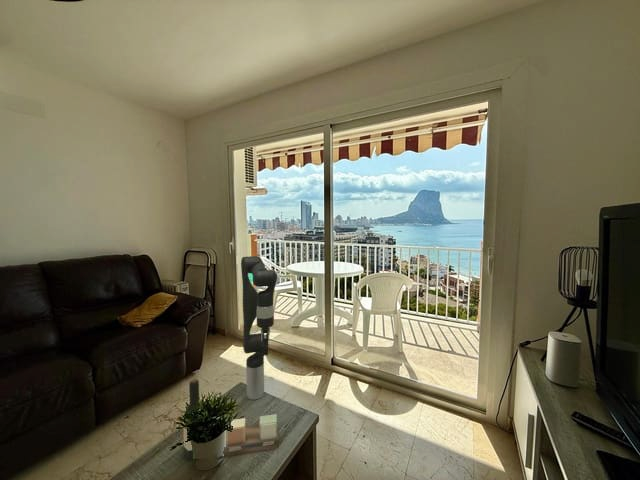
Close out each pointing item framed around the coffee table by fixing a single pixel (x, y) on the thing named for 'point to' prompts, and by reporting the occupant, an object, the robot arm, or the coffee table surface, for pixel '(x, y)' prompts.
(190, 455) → the wine bottle
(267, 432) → the sage box
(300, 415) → the coffee table surface
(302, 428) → the coffee table surface
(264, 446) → the shelf board
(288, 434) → the coffee table surface
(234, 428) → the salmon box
